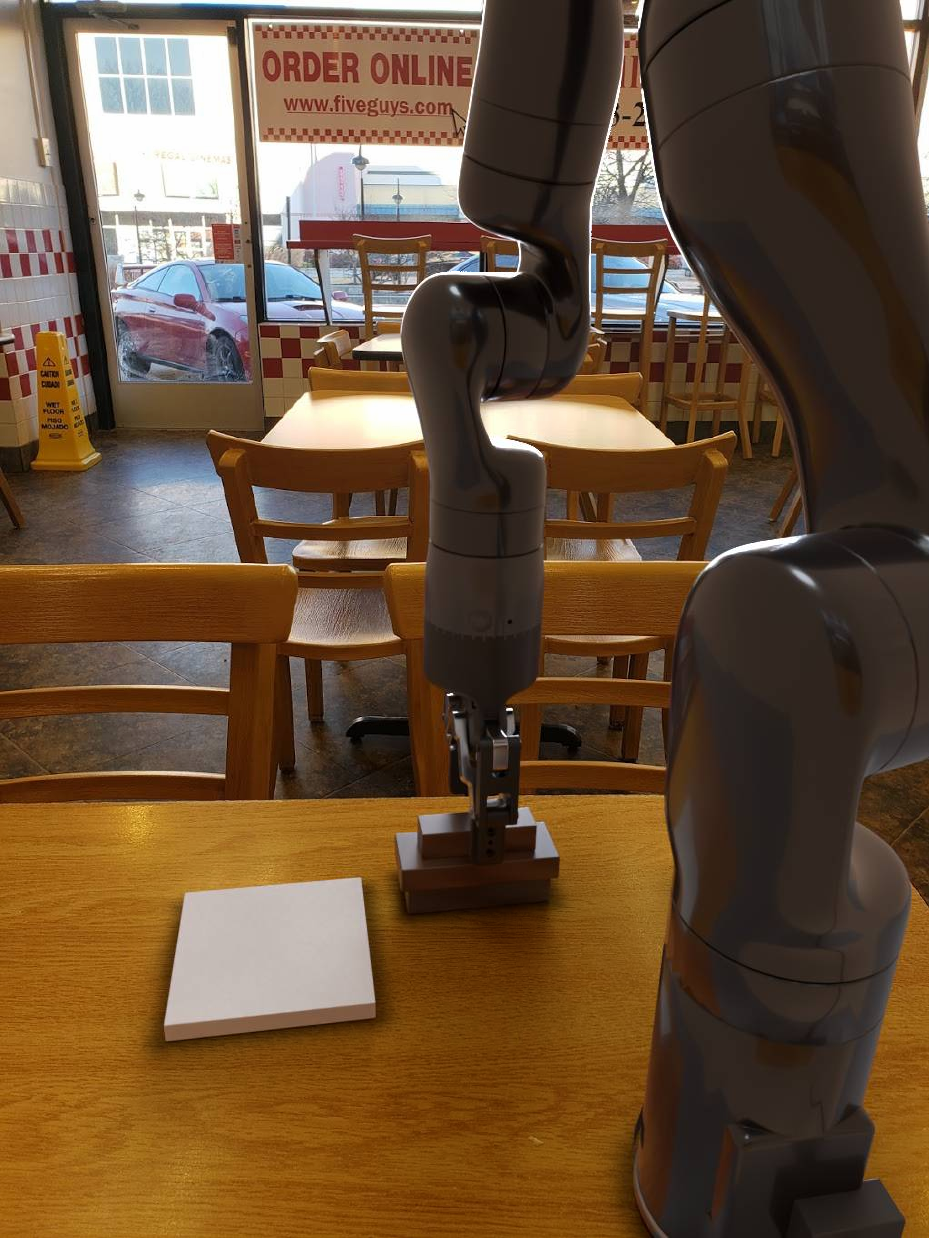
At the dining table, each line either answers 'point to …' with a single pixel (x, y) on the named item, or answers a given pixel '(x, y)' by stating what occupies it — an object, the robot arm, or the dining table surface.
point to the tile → (270, 959)
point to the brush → (451, 882)
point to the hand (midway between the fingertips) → (474, 824)
